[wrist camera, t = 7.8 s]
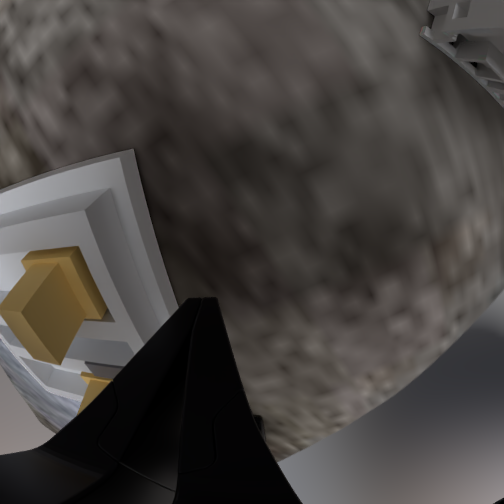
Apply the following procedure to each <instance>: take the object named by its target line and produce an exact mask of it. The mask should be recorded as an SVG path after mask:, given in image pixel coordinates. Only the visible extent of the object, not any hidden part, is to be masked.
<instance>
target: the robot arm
mask: <svg viewBox="0 0 504 504" xmlns="http://www.w3.org/2000/svg"><path fill="white" fill-rule="evenodd" d="M0 504H303V503H302V502H301V501H300V499H299V498H298V496H297V495H296V493H295V492H294V491H293V489H292V487H291V485H290V484H289V482H288V481H287V479H286V477H285V475H284V474H283V472H282V470H281V469H280V467H279V465H278V463H277V462H276V460H275V458H274V456H273V455H272V453H271V451H270V449H269V447H268V446H267V444H266V437H265V431H264V426H263V420H262V418H259V417H253V414H252V411H251V409H250V406H249V403H248V400H247V397H246V394H245V391H244V388H243V385H242V382H241V378H240V375H239V372H238V369H237V365H236V362H235V359H234V355H233V352H232V348H231V345H230V342H229V338H228V335H227V331H226V328H225V324H224V320H223V317H222V313H221V310H220V306H219V302H218V299H217V298H216V297H204V298H203V299H202V298H200V297H199V298H188V299H187V300H186V301H185V302H184V303H183V304H182V305H181V306H180V307H179V308H178V309H177V310H176V311H175V312H174V313H173V314H172V316H171V317H170V318H169V319H168V320H167V321H166V322H165V323H164V324H163V325H162V326H161V327H160V328H159V329H158V331H157V332H156V333H155V334H154V335H153V336H152V337H151V338H150V339H149V340H148V341H147V342H146V343H145V345H144V346H143V347H142V348H141V349H140V350H139V351H138V352H137V353H136V354H135V355H134V356H133V358H132V359H131V360H130V361H129V362H128V363H127V364H126V365H125V366H124V367H123V368H122V370H121V371H120V372H119V373H118V374H117V375H116V376H115V377H114V378H113V381H110V382H109V384H108V385H107V386H106V387H105V388H104V389H103V390H102V391H101V392H100V393H99V394H98V395H97V396H96V397H95V399H94V400H93V401H92V402H91V403H90V404H89V405H88V406H86V407H85V408H84V409H83V410H82V411H81V412H80V413H79V414H78V415H77V416H76V417H75V418H74V419H72V420H71V421H70V422H69V423H68V424H67V425H66V426H65V427H63V428H62V429H61V430H60V431H59V432H58V433H57V434H56V435H54V436H53V437H52V438H51V439H50V440H49V441H47V442H46V443H44V444H43V445H41V446H39V447H37V448H34V449H32V450H27V451H22V452H16V453H11V454H5V455H0ZM494 504H504V498H502V499H501V500H499V501H497V502H495V503H494Z"/></svg>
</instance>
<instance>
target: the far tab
mask: <svg viewBox="0 0 504 504" xmlns="http://www.w3.org/2000/svg"><path fill="white" fill-rule="evenodd" d="M80 376H81V377H82V379H83V380H84V381H85V382H86V383H87V384H88V387H87V389H86V392H85V395H84V397H83V400H82V403H81V405H80V408H79V411H78V414H79V413H80V412H81V411H82V410H83V409H84V408H85V407H86V406H88V405H89V404H90V403H91V402H92V401H93V400H94V399H95V397H96V396H97V395H98V394H99V393H100V392H101V391H102V390H103V389H104V388H105V387H106V386H107V385H108V384H109V382H110V381H113V379H109V378H103V377H97V376H94V375H93V373H88V372H83V371H82V372H81V374H80ZM78 414H77V415H78Z"/></svg>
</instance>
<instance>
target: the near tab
mask: <svg viewBox="0 0 504 504" xmlns="http://www.w3.org/2000/svg"><path fill="white" fill-rule="evenodd" d="M21 262H22V264H23V266H24V268H25V270H26V272H25V273H24V275H23V276H22V277H21V278H20V280H19V281H18V282H17V283H16V284H15V286H14V287H13V288H12V289H11V291H10V292H9V293H8V295H7V296H6V297H5V299H4V300H3V301H2V303H1V304H0V315H1V316H2V318H3V319H4V321H5V322H6V324H7V325H8V327H9V328H10V329H11V331H12V332H13V333H14V335H15V336H16V337H17V339H18V340H19V341H20V343H21V344H22V345H23V346H24V348H25V349H26V350H27V351H28V353H29V354H30V355H31V356H32V358H33V359H35V360H39V361H43V362H47V363H51V364H56V365H60V366H61V364H62V361H63V359H64V357H65V355H66V353H67V351H68V349H69V347H70V345H71V343H72V341H73V339H74V337H75V336H76V334H77V332H78V330H79V328H80V326H81V324H82V322H83V321H84V319H102V318H103V316H104V314H105V312H106V310H107V308H108V307H107V305H106V303H105V301H104V299H103V297H102V295H101V293H100V291H99V289H98V287H97V285H96V283H95V281H94V279H93V277H92V275H91V273H90V270H89V268H88V266H87V264H86V261H85V259H84V257H83V255H82V252H81V250H80V248H79V246H72V247H62V248H53V249H44V250H35V251H29V252H28V253H27V254H26V256H25V257H24V258H23V259H22V260H21Z"/></svg>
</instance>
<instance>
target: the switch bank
mask: <svg viewBox="0 0 504 504" xmlns="http://www.w3.org/2000/svg"><path fill="white" fill-rule="evenodd" d="M72 246H79V248H80V250H81V252H82V255H83V257H84V259H85V261H86V264H87V266H88V268H89V270H90V273H91V275H92V277H93V279H94V281H95V283H96V285H97V287H98V289H99V291H100V293H101V295H102V297H103V299H104V301H105V303H106V305H107V307H108V308H107V310H106V312H105V314H104V316H103V318H102V319H84V321H83V322H82V324H81V326H80V328H79V330H78V332H77V334H76V336H75V337H74V339H73V341H72V343H71V345H70V347H69V349H68V351H67V353H66V355H65V357H64V359H63V361H62V364H61V366H60V365H56V364H51V363H47V362H43V361H39V360H35V359H33V358H32V356H31V355H30V354H29V353H28V351H27V350H26V349H25V348H24V346H23V345H22V344H21V343H20V341H19V340H18V339H17V337H16V336H15V335H14V333H13V332H12V331H11V329H10V328H9V327H8V325H7V324H6V322H5V321H4V319H3V318H2V316H1V315H0V339H1V340H2V341H3V343H4V344H5V345H6V346H7V348H8V349H9V350H10V351H11V352H12V354H13V355H14V356H15V357H16V358H17V360H18V361H19V362H20V363H21V364H22V365H23V367H24V368H25V369H26V370H27V371H28V372H29V373H30V374H31V375H32V376H33V377H34V378H35V380H36V381H37V382H38V383H39V384H40V385H41V386H42V387H43V388H44V389H45V390H46V391H47V392H49V393H52V394H56V395H59V396H62V397H66V398H69V399H73V400H76V401H80V402H82V400H83V397H84V395H85V392H86V389H87V387H88V384H87V383H86V382H85V381H84V380H83V379H82V377H81V376H80V374H81V372H82V371H83V372H88V373H93V375H94V376H97V377H103V378H109V379H113V378H114V377H115V376H116V375H117V374H118V373H119V372H120V371H121V370H122V368H123V367H124V366H125V365H126V364H127V363H128V362H129V361H130V360H131V359H132V358H133V356H134V355H135V354H136V353H137V352H138V351H139V350H140V349H141V348H142V347H143V346H144V345H145V343H146V342H147V341H148V340H149V339H150V338H151V337H152V336H153V335H154V334H155V333H156V332H157V331H158V329H159V328H160V327H161V326H162V325H163V324H164V323H165V322H166V321H167V320H168V319H169V318H170V317H171V316H172V314H173V313H174V312H175V311H176V310H177V309H178V308H179V307H178V304H177V301H176V299H175V296H174V293H173V290H172V287H171V284H170V281H169V278H168V275H167V272H166V269H165V266H164V262H163V259H162V256H161V253H160V249H159V246H158V243H157V239H156V236H155V233H154V229H153V225H152V222H151V218H150V215H149V211H148V207H147V203H146V200H145V196H144V192H143V188H142V184H141V180H140V175H139V171H138V167H137V162H136V158H135V153H134V149H129V150H125V151H120V152H116V153H112V154H108V155H104V156H100V157H96V158H92V159H89V160H85V161H82V162H78V163H75V164H71V165H68V166H65V167H61V168H58V169H55V170H52V171H49V172H46V173H43V174H40V175H37V176H34V177H32V178H29V179H26V180H23V181H21V182H18V183H16V184H13V185H11V186H8V187H6V188H3V189H1V190H0V304H1V303H2V301H3V300H4V299H5V297H6V296H7V295H8V293H9V292H10V291H11V289H12V288H13V287H14V286H15V284H16V283H17V282H18V281H19V280H20V278H21V277H22V276H23V275H24V273H25V272H26V270H25V268H24V266H23V264H22V262H21V260H22V259H23V258H24V257H25V256H26V254H27V253H28V252H29V251H35V250H44V249H53V248H62V247H72Z"/></svg>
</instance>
